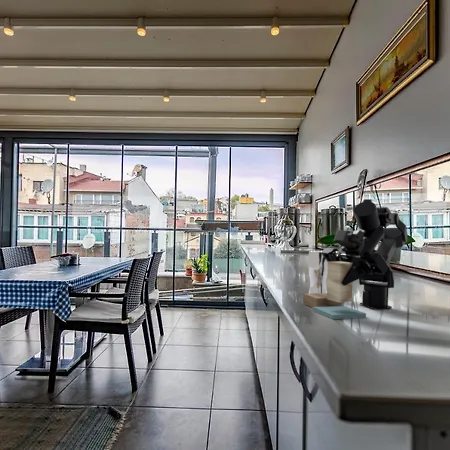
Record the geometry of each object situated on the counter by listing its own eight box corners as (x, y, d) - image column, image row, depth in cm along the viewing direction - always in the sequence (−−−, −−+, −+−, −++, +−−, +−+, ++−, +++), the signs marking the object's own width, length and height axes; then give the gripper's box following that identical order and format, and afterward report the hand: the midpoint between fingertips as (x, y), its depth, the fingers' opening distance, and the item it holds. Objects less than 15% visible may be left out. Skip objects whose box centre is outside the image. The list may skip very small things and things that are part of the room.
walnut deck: (326, 302, 105) (326, 293, 105) (340, 308, 99) (341, 297, 99) (303, 303, 103) (303, 293, 103) (316, 309, 96) (316, 298, 96)
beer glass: (330, 294, 120) (331, 251, 121) (324, 297, 114) (325, 252, 115) (310, 292, 124) (312, 250, 124) (304, 294, 118) (305, 250, 118)
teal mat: (344, 309, 97) (344, 305, 97) (366, 317, 89) (366, 313, 89) (312, 310, 94) (313, 306, 94) (332, 319, 86) (332, 315, 86)
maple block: (339, 297, 95) (340, 261, 95) (352, 301, 91) (352, 263, 91) (326, 299, 93) (327, 261, 93) (339, 302, 89) (340, 263, 89)
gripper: (327, 220, 102) (296, 258, 97) (381, 220, 85) (348, 265, 80) (345, 247, 105) (317, 285, 100) (401, 251, 89) (370, 297, 84)
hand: (335, 283), depth 91 cm, fingers closed on maple block, 4 cm apart
